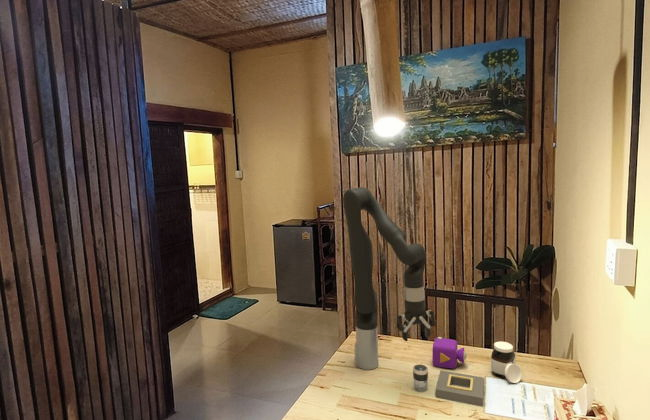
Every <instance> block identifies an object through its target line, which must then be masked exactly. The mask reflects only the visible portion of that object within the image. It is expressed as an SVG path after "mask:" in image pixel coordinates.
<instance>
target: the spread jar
mask: <svg viewBox="0 0 650 420" xmlns="http://www.w3.org/2000/svg"><path fill="white" fill-rule="evenodd" d="M490 356H491V357H490V370H491V372H492V373H493V374H494V375H495V376H497V377H501V378H504V379H506V380H507V381H508V382H509V383H512V384H517V383H519V382H520V381H521V380H522V375H523V374H522V369H521V367H520V366H519V365H518V364H516V352H515V351H514V346H513V344H511V343H509V342H507V341H496V342H494V343H493V350H492V352H491V355H490Z"/></svg>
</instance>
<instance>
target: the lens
mask: <svg viewBox="0 0 650 420" xmlns="http://www.w3.org/2000/svg"><path fill="white" fill-rule="evenodd" d="M412 367H413V368H412V377H413V384H412V385H413V390H414V391H416V392H420V393H425V392H427V391H428V387H429V385H428V383H429V382H428V381H429V380H428V379H429V371H428V367H427V366H426V365H424V364H415V365H413V366H412Z"/></svg>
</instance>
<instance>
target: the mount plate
mask: <svg viewBox="0 0 650 420" xmlns="http://www.w3.org/2000/svg"><path fill="white" fill-rule="evenodd" d="M484 389H485V377H482V376H477V375H470V374H466V373H459V372H453V371H447V370H440V371H439V374H438V377H437V382H436V386H435V389H434V391H435V394H434V395H435V396H434V397H435V398H439V399H444V400H449V401H453V402H454V401H455V402H459V403H462V404H463V403H464V404H469V405H474V406H479V407H484V393H485V391H484Z"/></svg>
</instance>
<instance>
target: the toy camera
mask: <svg viewBox="0 0 650 420" xmlns="http://www.w3.org/2000/svg"><path fill="white" fill-rule="evenodd" d="M467 355H468V354H467V352H466V351H465V347H464V346H463V347H462V348H461V347H460V348H459V349H458V341H457V340H455V339H452V338H451V339H450V338H443V337H441V336H438V337H436V338H434V341H433V344H432V364H433V366H434V367H439V368H444V369H452V370H453V369H455V368H456V367H457V365H458V364H457V363H458V361H459V362H461V364H464V363H465V360H466V359H467Z"/></svg>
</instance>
